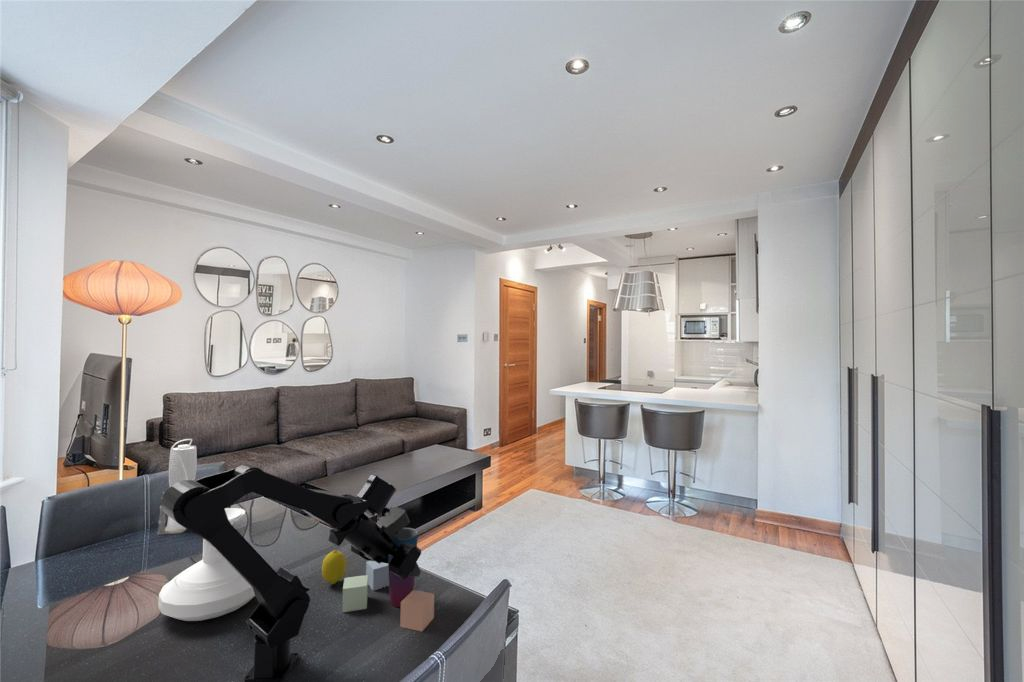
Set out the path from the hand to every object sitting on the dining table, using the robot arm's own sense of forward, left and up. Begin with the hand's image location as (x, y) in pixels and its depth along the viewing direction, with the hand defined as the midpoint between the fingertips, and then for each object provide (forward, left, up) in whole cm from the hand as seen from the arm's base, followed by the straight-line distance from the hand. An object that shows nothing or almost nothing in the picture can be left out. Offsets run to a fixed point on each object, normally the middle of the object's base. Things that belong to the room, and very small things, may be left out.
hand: (406, 567), depth 99 cm
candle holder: (-1, +42, -7) cm, 42 cm away
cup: (-1, +1, -7) cm, 7 cm away
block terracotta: (-9, -4, -7) cm, 12 cm away
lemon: (+7, +19, -7) cm, 21 cm away
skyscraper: (+43, +81, -7) cm, 92 cm away
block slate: (+7, +8, -7) cm, 13 cm away
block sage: (-2, +11, -7) cm, 13 cm away
